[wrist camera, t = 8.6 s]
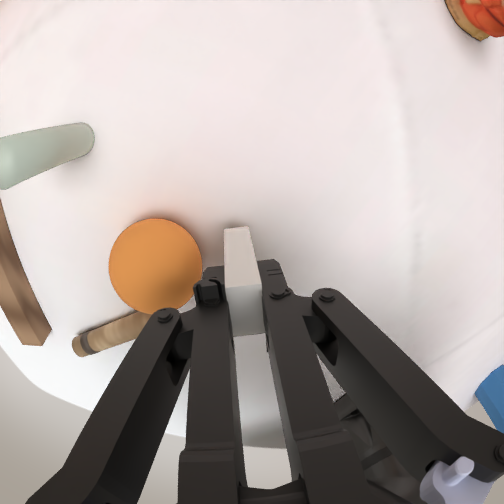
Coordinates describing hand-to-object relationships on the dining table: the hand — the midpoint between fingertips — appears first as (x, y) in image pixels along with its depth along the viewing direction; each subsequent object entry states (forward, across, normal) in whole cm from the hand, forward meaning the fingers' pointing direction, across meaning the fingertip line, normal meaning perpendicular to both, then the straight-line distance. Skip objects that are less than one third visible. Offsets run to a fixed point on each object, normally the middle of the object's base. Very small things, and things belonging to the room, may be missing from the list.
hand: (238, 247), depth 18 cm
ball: (0, +5, 0) cm, 5 cm away
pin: (+2, +8, +6) cm, 10 cm away
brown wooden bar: (+2, +21, -2) cm, 21 cm away
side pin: (+2, +10, -8) cm, 13 cm away
